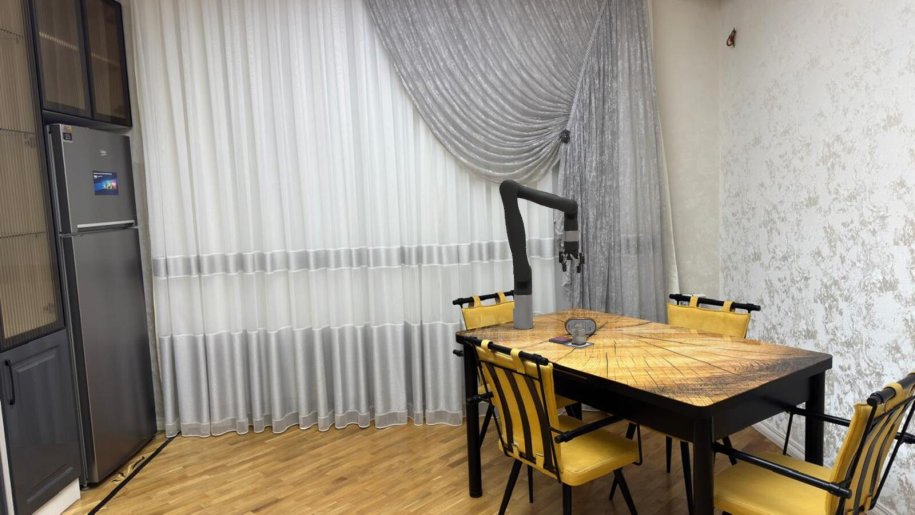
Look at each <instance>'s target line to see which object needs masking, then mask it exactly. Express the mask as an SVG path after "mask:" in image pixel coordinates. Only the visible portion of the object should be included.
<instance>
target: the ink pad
mask: <svg viewBox="0 0 915 515" xmlns="http://www.w3.org/2000/svg"><path fill="white" fill-rule="evenodd" d="M548 342H549V343H553V344H558V345H563V344H565V343H568V342H572V337H567V336H562V335H558V336H555V337H552V338H550V339H548Z"/></svg>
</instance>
